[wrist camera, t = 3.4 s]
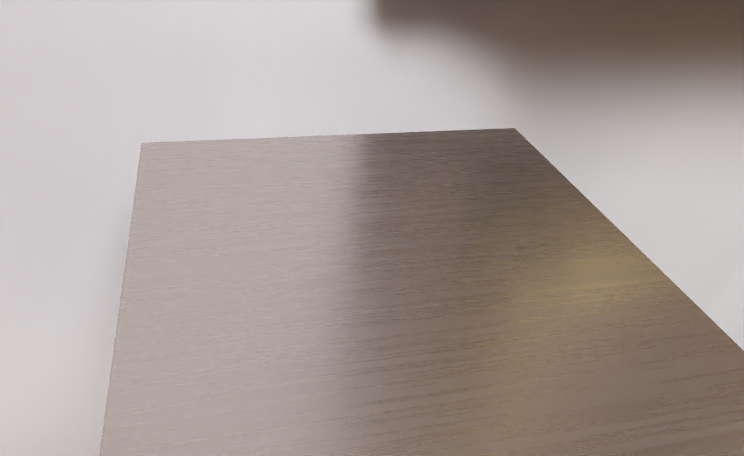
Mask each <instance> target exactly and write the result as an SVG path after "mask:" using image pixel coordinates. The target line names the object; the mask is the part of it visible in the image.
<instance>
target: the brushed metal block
mask: <svg viewBox="0 0 744 456" xmlns="http://www.w3.org/2000/svg"><path fill="white" fill-rule="evenodd" d="M100 456H744V351H743V350H742V349H741V348H740V347H739V346H738V345H737V344H736V343H735V342H734V341H733V340H732V339H731V338H730V337H729V336H728V335H727V334H726V333H725V332H724V331H723V330H721V329H720V328H719V327H718V326H717V325H716V324H715V323H714V322H713V321H712V320H711V319H710V318H709V317H708V316H707V315H706V314H705V313H704V312H703V311H702V310H701V309H700V308H699V307H698V306H697V305H696V304H695V303H694V302H693V301H692V300H691V299H690V298H689V297H688V296H687V295H686V294H684V293H683V292H682V291H681V290H680V289H679V288H678V287H677V286H676V285H675V284H674V283H673V282H672V281H671V280H670V279H669V278H668V277H667V276H666V275H665V274H664V273H663V272H662V271H661V270H660V269H659V268H658V267H657V266H656V265H655V264H654V263H653V262H652V261H651V260H650V259H649V258H647V257H646V256H645V255H644V254H643V253H642V252H641V251H640V250H639V249H638V248H637V247H636V246H635V245H634V244H633V243H632V242H631V241H630V240H629V239H628V238H627V237H626V236H625V235H624V234H623V233H622V232H621V231H620V230H619V229H618V228H617V227H616V226H615V225H614V224H613V223H612V222H610V221H609V220H608V219H607V218H606V217H605V216H604V215H603V214H602V213H601V212H600V211H599V210H598V209H597V208H596V207H595V206H594V205H593V204H592V203H591V202H590V201H589V200H588V199H587V198H586V197H585V196H584V195H583V194H582V193H581V192H580V191H579V190H578V189H577V188H576V187H575V186H573V185H572V184H571V183H570V182H569V181H568V180H567V179H566V178H565V177H564V176H563V175H562V174H561V173H560V172H559V171H558V170H557V169H556V168H555V167H554V166H553V165H552V164H551V163H550V162H549V161H548V160H547V159H546V158H545V157H544V156H543V155H542V154H541V153H540V152H539V151H538V150H536V149H535V148H534V147H533V146H532V145H531V144H530V143H529V142H528V141H527V140H526V139H525V138H524V137H523V136H522V135H521V134H520V133H519V132H518V131H517V130H516V129H515V128H507V129H482V130H457V131H432V132H407V133H382V134H357V135H332V136H307V137H281V138H256V139H231V140H206V141H181V142H156V143H142V145H141V152H140V160H139V167H138V175H137V182H136V189H135V197H134V204H133V212H132V219H131V227H130V234H129V241H128V249H127V256H126V264H125V271H124V278H123V286H122V293H121V301H120V308H119V316H118V323H117V330H116V338H115V345H114V353H113V360H112V368H111V375H110V382H109V390H108V397H107V405H106V412H105V419H104V427H103V434H102V442H101V449H100Z"/></svg>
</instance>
